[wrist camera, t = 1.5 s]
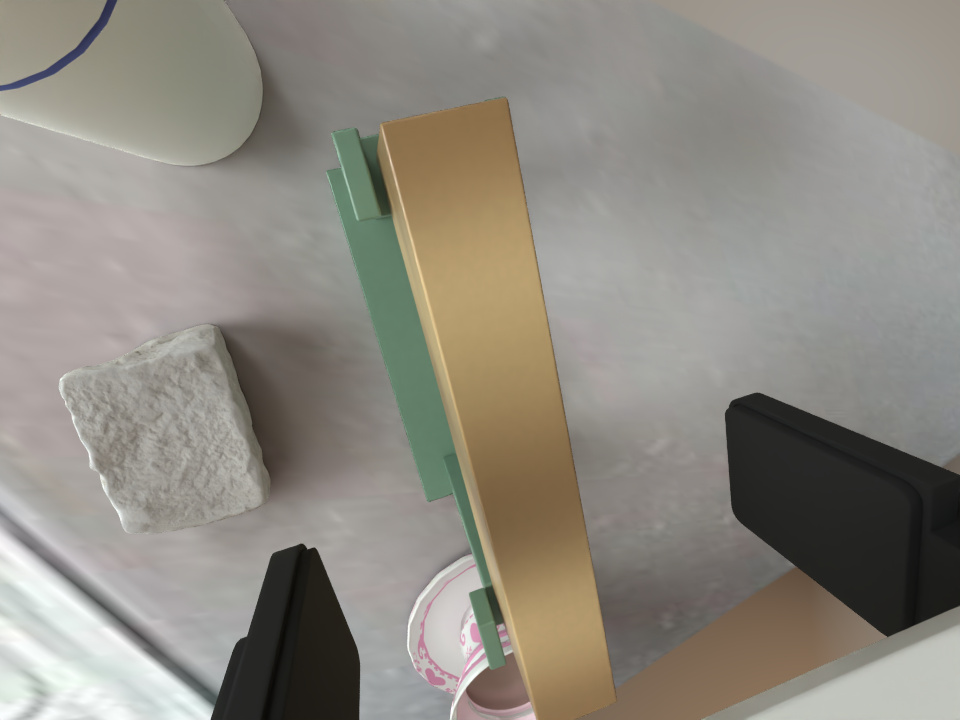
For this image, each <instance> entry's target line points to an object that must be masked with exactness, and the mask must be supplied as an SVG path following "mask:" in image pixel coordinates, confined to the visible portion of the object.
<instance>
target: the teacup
mask: <svg viewBox="0 0 960 720" xmlns="http://www.w3.org/2000/svg"><path fill="white" fill-rule="evenodd" d="M480 588H483V586H482V583H481V580H480V577H479V574H478V571H477V567H476V564H475V561H474V558H473V555H472V554H469V555H466V556H463V557H461V558H460V559H458V560H457V561H456V562H454V563H453V564H451V565H450V566H448V567H447V568H445V569H444V570H442V571H441V572H440V573H438V574H437V575H436V576H435V577H434V578H433V580H432V581H431V582H430V583H429V584H428V585H427V587H426V588H425V589H424V590H423V591H422V593H421V594H420V595H419V596H418V598H417V601H416V603H415V605H414V608H413V610H412V612H411V615H410V617H409V620H408V631H407V649H408V652H409V654H410V657H411V659H412V662H413V665H414V667H415V669H416V670H417V671H418V672H419V673H420V674H421V675H422V676H423V677H424V678H425V679H426V680H427V681H428V682H429V683H430V684H431V685H432V686H435V687H437V688H439V689H441V690H444V691H446V692H448V693H451V694H454V695H455V696H454V699H453V703H452V707H451V716H450V720H536V717H535V715H534V712H533V709H532V706H531V703H530V700H529V697H528V694H527V691H526V688H525V685H524V682H523V679H522V676H521V673H520V670H519V668H518V665H517V662H516V659H515V656H514V653H513V650H512V647H511V644H510V641H509V638H508V635H507V632H506V629H505V626H504V624H500V625H496V626H497V630H498V633H499V637H500V641H501V644H502V648H503V651H504V655H505V658H506V665H504V666H501V667H498V668H496V669H493V670H491V669H490V667H489V664H488V661H487V657H486V654H485V650H484V647H483V644H482V640H481V637H480V634H479V630H478V627H477V623H476V619H475V616H474V612H473V608H472V605H471V601H470V598H469V593H470V592H472V591H475V590H477V589H480Z"/></svg>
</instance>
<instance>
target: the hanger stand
mask: <svg viewBox="0 0 960 720" xmlns="http://www.w3.org/2000/svg"><path fill="white" fill-rule="evenodd" d="M499 98H503V97H498V98H494V99H499ZM504 98H506V97H504ZM494 99H489V100H494ZM489 100H485V101H489ZM483 102H484V101H483ZM332 139H333V142H334V145H335V149H336V152H337V155H338V159H339V162H340V165H341V168H337V169H333V170H328V171H326V173H327V177H328V180H329V183H330V186H331V190H332V193H333V196H334V199H335V203H336V206H337V209H338V212H339V216H340V219H341V222H342V225H343V229H344V232H345V235H346V238H347V242H348V245H349V248H350V251H351V255H352V258H353V261H354V264H355V268H356V271H357V274H358V277H359V281H360V284H361V287H362V290H363V294H364V297H365V300H366V303H367V307H368V310H369V313H370V316H371V320H372V323H373V326H374V329H375V333H376V336H377V339H378V342H379V346H380V349H381V352H382V355H383V359H384V362H385V365H386V368H387V372H388V375H389V378H390V381H391V385H392V388H393V391H394V394H395V398H396V401H397V404H398V407H399V411H400V414H401V417H402V421H403V424H404V427H405V430H406V434H407V437H408V440H409V443H410V447H411V450H412V453H413V456H414V460H415V463H416V466H417V469H418V473H419V476H420V479H421V482H422V486H423V489H424V492H425V495H426V499H427V501H428V502H430V501H433V500H436V499H439V498H442V497H445V496H448V495H451V494H453V495H454V498H455V501H456V505H457V508H458V511H459V514H460V517H461V520H462V523H463V527H464V530H465V533H466V536H467V539H468V542H469V545H470V549H471V552H472V555H473V558H474V561H475V564H476V567H477V571H478V574H479V577H480V580H481V583H482V586H483V588H480V589H477V590H475V591H472V592H470V593H469V598H470V601H471V605H472V608H473V612H474V616H475V619H476V623H477V627H478V630H479V634H480V637H481V640H482V644H483V647H484V650H485V654H486V657H487V661H488V664H489V667H490V669H491V670H493V669H496V668H498V667H501V666H504V665H506V658H505V655H504V651H503V648H502V644H501V641H500V637H499V633H498V630H497V626H496V625H500V624H503V621H502V618H501V615H500V611H499V607H498V604H497V600H496V596H495V593H494V589H493V585H492V582H491V578H490V574H489V571H488V567H487V563H486V560H485V556H484V553H483V549H482V545H481V542H480V538H479V534H478V531H477V527H476V523H475V520H474V516H473V512H472V509H471V505H470V501H469V498H468V494H467V490H466V487H465V483H464V479H463V476H462V472H461V468H460V465H459V461H458V457H457V454H456V450H455V446H454V443H453V439H452V435H451V432H450V428H449V424H448V421H447V417H446V413H445V410H444V406H443V402H442V399H441V395H440V391H439V388H438V384H437V380H436V377H435V373H434V369H433V366H432V362H431V358H430V355H429V351H428V347H427V344H426V340H425V336H424V333H423V329H422V325H421V322H420V318H419V314H418V311H417V307H416V303H415V300H414V296H413V292H412V289H411V285H410V281H409V278H408V274H407V270H406V267H405V263H404V259H403V256H402V252H401V249H400V245H399V241H398V238H397V234H396V230H395V227H394V223H393V219H392V216H391V212H390V208H389V205H388V201H387V197H386V194H385V190H384V186H383V183H382V179H381V175H380V172H379V168H378V164H377V161H376V154H377V146H378V139H379V134H377V135H372V136H367V137H362V138H360V136H359V132H358V130H357V128H355V127H353V128H348V129H343V130H338V131H334V132H332Z"/></svg>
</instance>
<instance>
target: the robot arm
mask: <svg viewBox="0 0 960 720" xmlns="http://www.w3.org/2000/svg"><path fill="white" fill-rule="evenodd" d="M725 422H726V436H727V450H728V463H729V477H730V491H731V505H732V510H733V513H734V515H735V516H736V518H737V519H738V520H739V522H741V523H742V524H743V525H744V526H745V527H747V528H748V529H749V530H751V531H752V532H753V533H754V534H756V535H757V536H758V537H759V538H761V539H762V540H763V541H765V542H766V543H767V544H768V545H770V546H771V547H772V548H774V549H775V550H776V551H777V552H779V553H780V554H781V555H783V556H784V557H785V558H786V559H788V560H789V561H790V562H791V563H793V564H794V565H795V566H797V567H798V568H799V569H800V570H802V571H803V572H804V573H806V574H807V575H808V576H809V577H811V578H812V579H813V580H815V581H816V582H817V583H818V584H820V585H821V586H822V587H823V588H825V589H826V590H827V591H829V592H830V593H831V594H833V595H834V596H835V597H836V598H838V599H839V600H840V601H842V602H843V603H844V604H845V605H847V606H848V607H849V608H850V609H852V610H853V611H854V612H855V613H857V614H858V615H859V616H861V617H862V618H863V619H864V620H866V621H867V622H868V623H870V624H871V625H872V626H873V627H875V628H876V629H877V630H879V631H880V632H881V633H883V634H884V635H886V636H887V638H885V639H882V640H880V641H878V642H875V643H873V644H871V645H869V646H866V647H864V648H862V649H859V650H857V651H855V652H853V653H850V654H848V655H846V656H843V657H841V658H839V659H836V660H834V661H832V662H830V663H827V664H825V665H823V666H820V667H818V668H816V669H814V670H812V671H809V672H807V673H805V674H802V675H800V676H798V677H796V678H793V679H791V680H789V681H787V682H784V683H782V684H780V685H778V686H775V687H773V688H771V689H768V690H766V691H764V692H762V693H759V694H757V695H755V696H753V697H750V698H748V699H746V700H744V701H742V702H739V703H737V704H735V705H733V706H730V707H728V708H726V709H723V710H721V711H719V712H717V713H714V714H712V715H710V716H708V717H706V718H703V719H701V720H960V475H958V474H956V473H954V472H951V471H949V470H946V469H944V468H941V467H939V466H936V465H934V464H932V463H929V462H927V461H924V460H922V459H919V458H917V457H915V456H912V455H910V454H907V453H905V452H902V451H900V450H898V449H895V448H893V447H890V446H888V445H885V444H883V443H881V442H878V441H876V440H873V439H871V438H868V437H866V436H864V435H861V434H859V433H856V432H854V431H851V430H849V429H846V428H844V427H842V426H839V425H837V424H834V423H832V422H829V421H827V420H825V419H822V418H820V417H817V416H815V415H812V414H810V413H808V412H805V411H803V410H800V409H798V408H795V407H793V406H791V405H788V404H786V403H783V402H781V401H778V400H776V399H774V398H771V397H769V396H766V395H764V394H761V393H753V394H750V395H747V396H744V397H741V398H738V399H735V400H733V401H732V402H731V403H730V405H729V408H728V409H727V410H726V412H725ZM359 701H360V660H359V654H358V650H357V647H356V644H355V641H354V639H353V637H352V634H351V632H350V629H349V627H348V624H347V622H346V619H345V617H344V614H343V612H342V609H341V607H340V605H339V602H338V600H337V597H336V595H335V592H334V590H333V587H332V585H331V582H330V580H329V577H328V575H327V573H326V570H325V568H324V565H323V563H322V560H321V558H320V555H319V553H318V551H317V549H316V548H311V549H308V550H307V548H306V546H305V545H304V544H299V545H296V546H293V547H290V548H287V549H284V550H281V551H278V552H275V553H273V554H272V556H271V559H270V562H269V565H268V569H267V572H266V575H265V579H264V582H263V585H262V589H261V592H260V595H259V599H258V602H257V605H256V609H255V612H254V615H253V619H252V622H251V625H250V629H249V632H248V635H247V637H244V638H242V639H240V640H239V641H238V642H237V643H236V645H235V647H234V650H233V652H232V655H231V658H230V661H229V664H228V667H227V671H226V674H225V677H224V680H223V683H222V686H221V689H220V692H219V695H218V698H217V701H216V705H215V708H214V711H213V714H212V717H211V720H359Z"/></svg>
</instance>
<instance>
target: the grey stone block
mask: <svg viewBox="0 0 960 720" xmlns="http://www.w3.org/2000/svg"><path fill="white" fill-rule="evenodd" d="M59 390H60V393H61V396H62V397H63V399H64V400H65V401H66V408H67V409H68V410H69V411H70V412H71V414H72V421H73V423H74V425H75V428H76V431H77V433H78V435H79V438H80V440H81V441H82V443H83V444H84V446H85V448H86V449H87V450H88V453H89V458H90V468H91V469H92V470H95V471H97V472H98V473H99V474H100V478H101V483H102V486H103V489H104V491H105V492H106V495H107V497H108V498H109V499H110V500H111V503H112V505H113V506H114V507H115V509H116V510H117V512H118V514H119V516H120V518H121V524H122V527H123V528H124V530H125V531H126V532H128V533H131V534H135V533H148V534H155V533H162V532H167V531H175V530H180V529H184V528H188V527H196V526H200V525H204V524H208V523H212V522H214V521H219V520H223V519H226V518H228V517H232V516H235V515H238V514H242V513H244V512H247V511H251V510H253V509H255V508H257V507H259V506H261V505H263V504H264V503H266V501H267V499H268V497H269V494H270V493H269V488H270V484H271V480H270V476H269V473H268V471H267V469H266V467H265V466H264V464H263V461H262V460H263V457H262V449H261V447H260V445H259V443H258V441H257V438H256V436H255V434H254V431H253V428H252V421H251V415H250V411H249V408H248V405H247V403H246V399H245V397H244V395H243V393H242V391H241V389H240V386H239V382H238V377H237V374H236V370H235V368H234V365H233V362H232V359H231V356H230V354H229V352H228V351H227V349H226V344H225V341H224V338H223V336H222V334H221V332H220V329H219V328H218V327H216V326H213V325H211V324H203V325H199V326H195V327H192V328H189V329H187V330H184V331H180V332H176V333H172V334H169V335H165V336H162V337H158V338H154V339H152V340H150V341H148V342H146V343H144V344H143V345H142V346H140V347H138V348H137V349H135V350H133V351H132V352H129V353H128V354H126V355H124V356H122V357H119V358H117V359H115V360H113V361H110V362H107V363H105V364H102V365H97V366H87V367H83V368H79V369H76V370H73V371H71V372H69V373H67V374H65V375H64V376H63V377H62V378H61V379H60V384H59Z"/></svg>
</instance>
